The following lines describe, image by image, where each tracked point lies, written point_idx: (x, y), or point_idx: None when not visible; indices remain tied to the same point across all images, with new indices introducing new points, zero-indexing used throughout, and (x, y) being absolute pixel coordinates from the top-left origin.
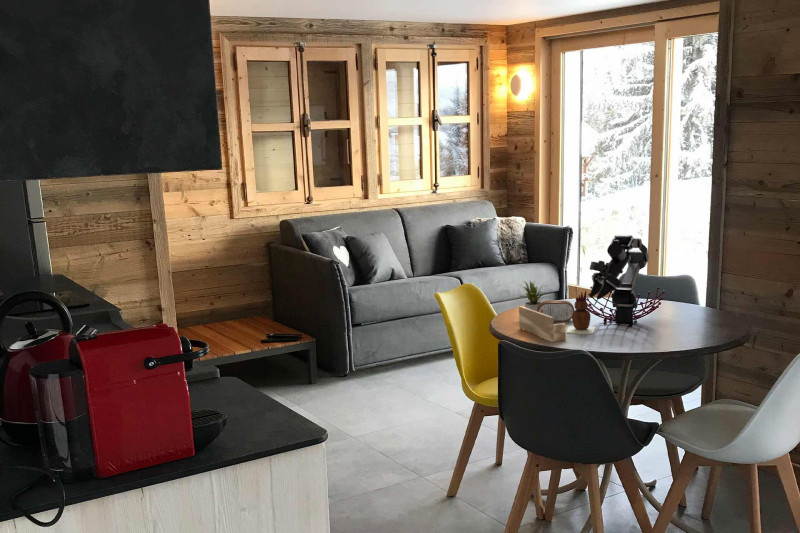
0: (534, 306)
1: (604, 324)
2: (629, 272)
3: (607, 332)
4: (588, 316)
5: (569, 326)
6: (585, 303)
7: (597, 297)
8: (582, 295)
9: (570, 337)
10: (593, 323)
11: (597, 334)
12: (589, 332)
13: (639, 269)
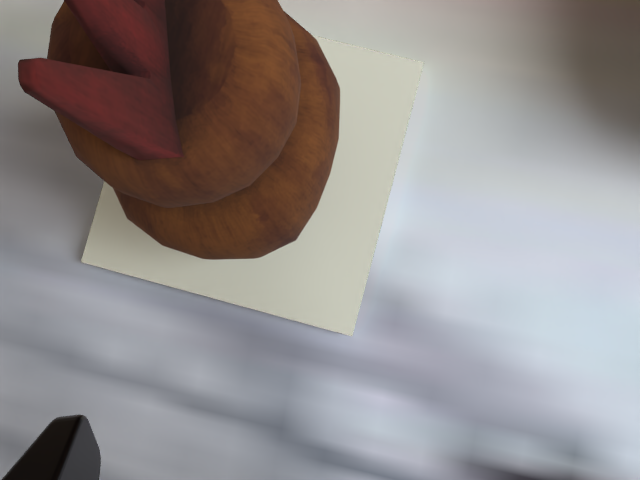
0: None
1: (513, 477)
2: None
3: (140, 417)
4: (125, 214)
5: (405, 66)
6: (67, 134)
7: (44, 437)
8: (87, 21)
9: (7, 16)
10: (582, 368)
11: (76, 297)
12: (96, 220)
13: None
